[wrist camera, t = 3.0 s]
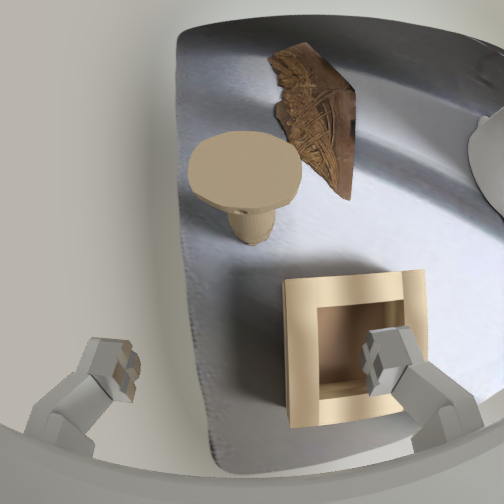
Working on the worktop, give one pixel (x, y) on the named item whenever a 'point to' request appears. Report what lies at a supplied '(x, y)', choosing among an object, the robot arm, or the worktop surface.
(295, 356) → the socket block
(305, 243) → the worktop surface
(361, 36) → the worktop surface
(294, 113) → the wooden fragment
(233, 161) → the handle
